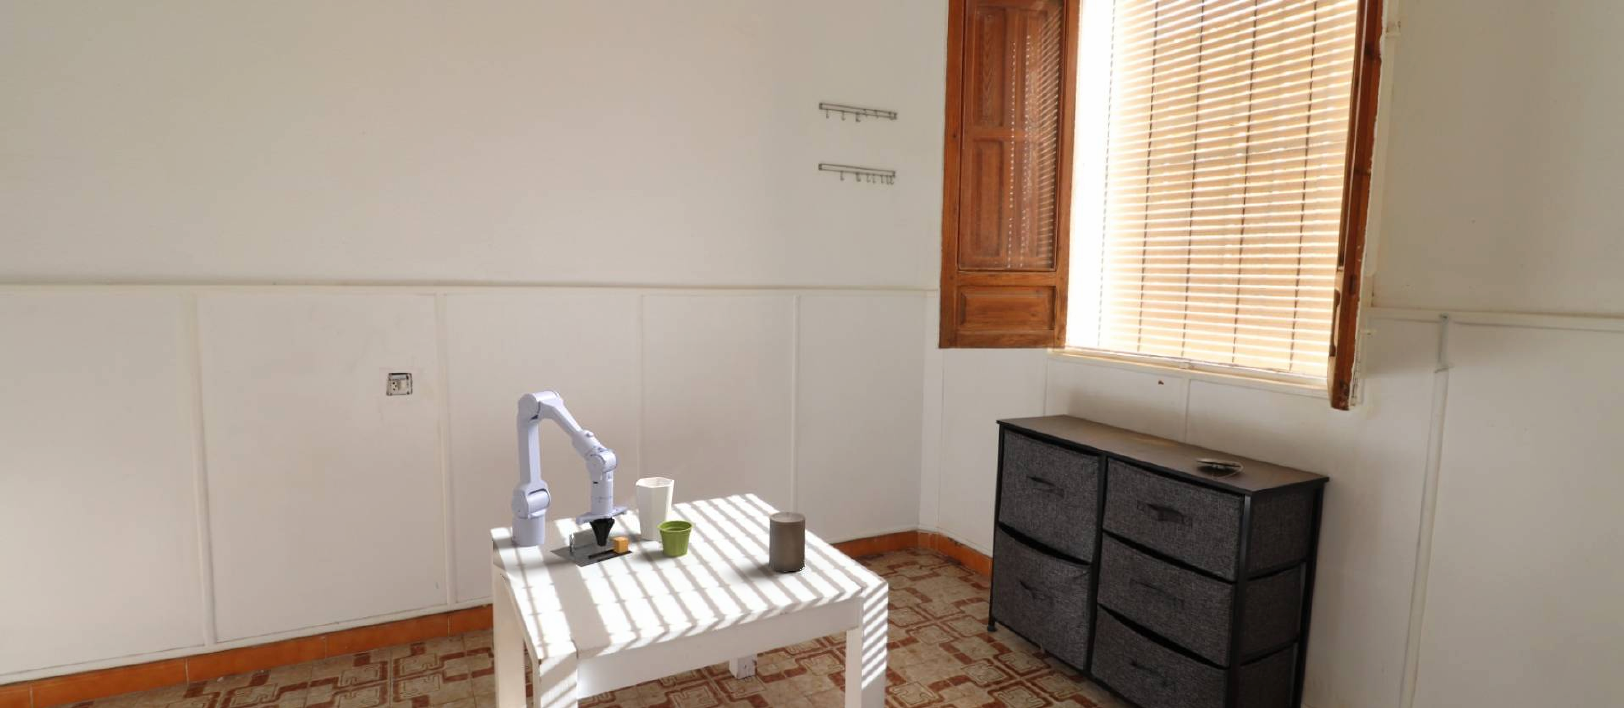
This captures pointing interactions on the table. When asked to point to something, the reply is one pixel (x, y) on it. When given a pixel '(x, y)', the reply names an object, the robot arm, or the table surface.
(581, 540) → the gate
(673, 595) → the table surface
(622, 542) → the fader
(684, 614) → the table surface
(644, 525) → the cup
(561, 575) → the table surface
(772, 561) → the pillar candle
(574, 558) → the console
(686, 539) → the plant pot
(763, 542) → the table surface
